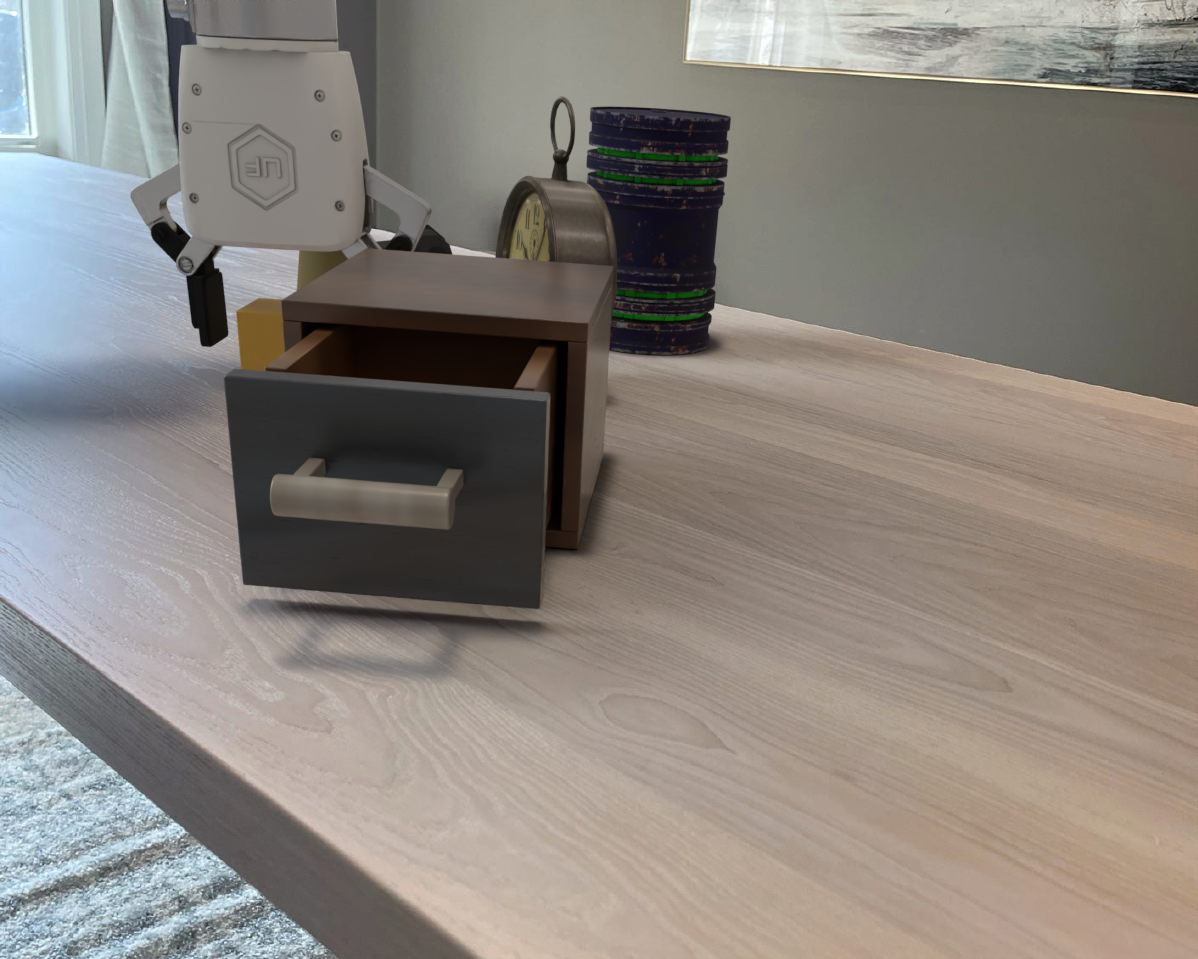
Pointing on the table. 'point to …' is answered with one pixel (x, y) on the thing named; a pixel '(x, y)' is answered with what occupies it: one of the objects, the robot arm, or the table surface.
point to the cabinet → (487, 333)
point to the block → (260, 333)
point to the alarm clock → (558, 216)
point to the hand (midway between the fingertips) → (292, 347)
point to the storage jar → (661, 221)
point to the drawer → (399, 464)
